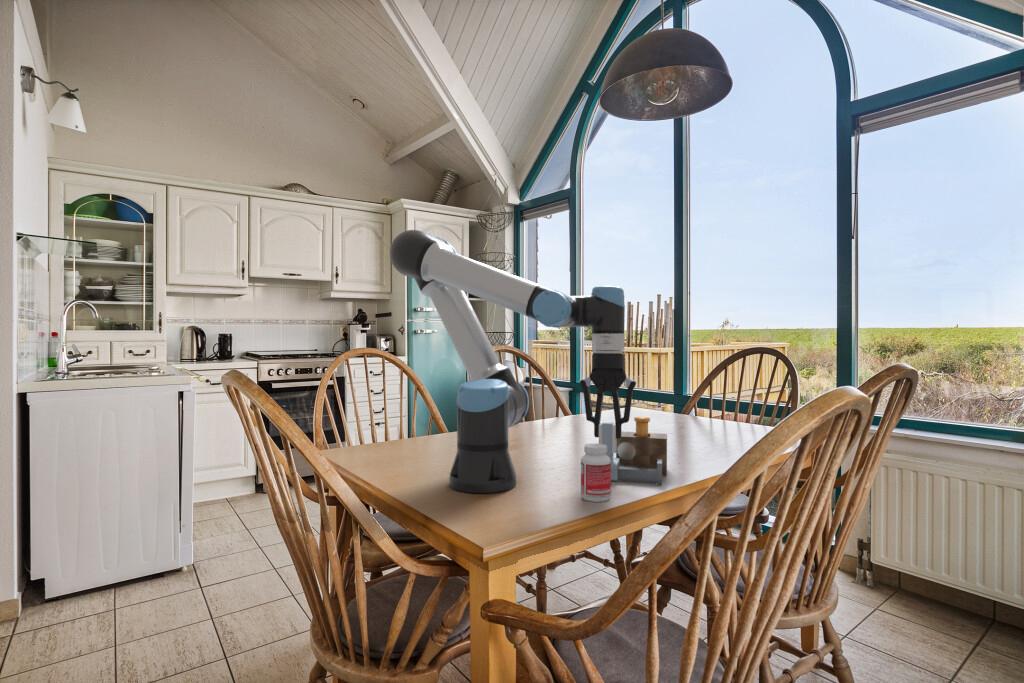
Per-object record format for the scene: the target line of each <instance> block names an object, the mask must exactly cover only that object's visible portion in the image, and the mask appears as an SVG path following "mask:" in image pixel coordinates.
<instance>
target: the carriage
mask: <svg viewBox="0 0 1024 683" xmlns="http://www.w3.org/2000/svg"><path fill="white" fill-rule="evenodd" d="M601 423H602V444H605V445H607V453H606V455H607V456H608V457H609V458H610V460H611V480H616V481H615V482H618V481H617V480H618V465H620V458H616V457H614V453H612V425H613V424H614V421H602V422H601Z"/></svg>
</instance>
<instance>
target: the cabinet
mask: <svg viewBox="0 0 1024 683" xmlns="http://www.w3.org/2000/svg"><path fill="white" fill-rule="evenodd" d="M615 458H620V466H635V467H649V468H657V460H658V459H662V477H667V475H668V433H660V432H658V433H657V432H648V437H643V436H636V431H621V437H620V439H619V438H617V451H616V453H615Z"/></svg>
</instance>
